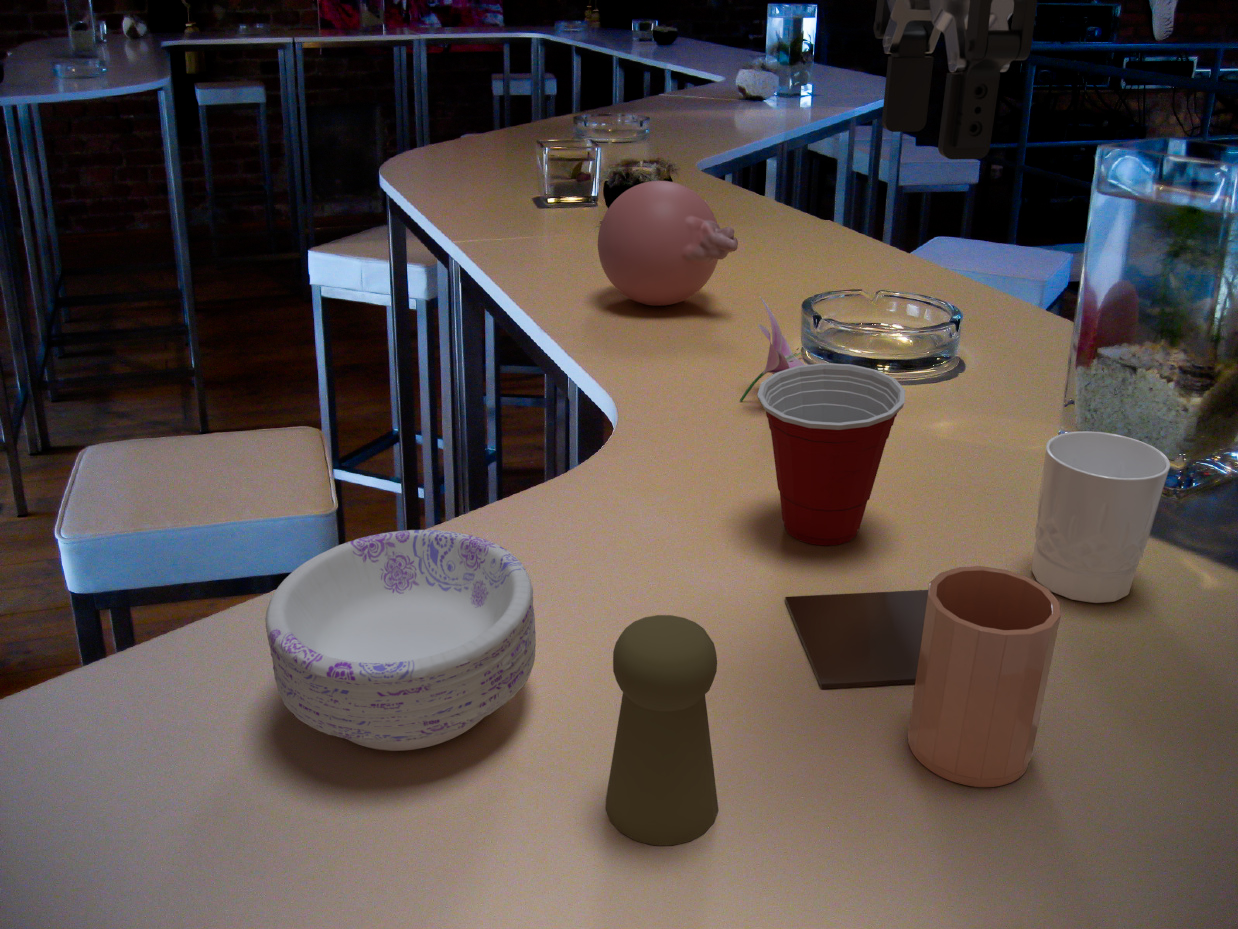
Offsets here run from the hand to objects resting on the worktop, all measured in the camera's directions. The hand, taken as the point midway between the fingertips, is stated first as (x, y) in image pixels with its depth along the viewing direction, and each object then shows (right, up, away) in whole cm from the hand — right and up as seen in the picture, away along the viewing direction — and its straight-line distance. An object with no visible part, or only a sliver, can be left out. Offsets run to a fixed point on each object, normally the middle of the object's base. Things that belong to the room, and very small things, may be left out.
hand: (930, 143), depth 54 cm
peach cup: (+4, -32, +8) cm, 33 cm away
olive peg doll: (-13, -34, +4) cm, 37 cm away
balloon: (-9, +4, +84) cm, 85 cm away
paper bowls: (-28, -31, +12) cm, 43 cm away
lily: (+1, -10, +55) cm, 56 cm away
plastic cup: (0, -21, +31) cm, 38 cm away
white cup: (+18, -24, +24) cm, 39 cm away
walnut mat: (+3, -27, +18) cm, 33 cm away
